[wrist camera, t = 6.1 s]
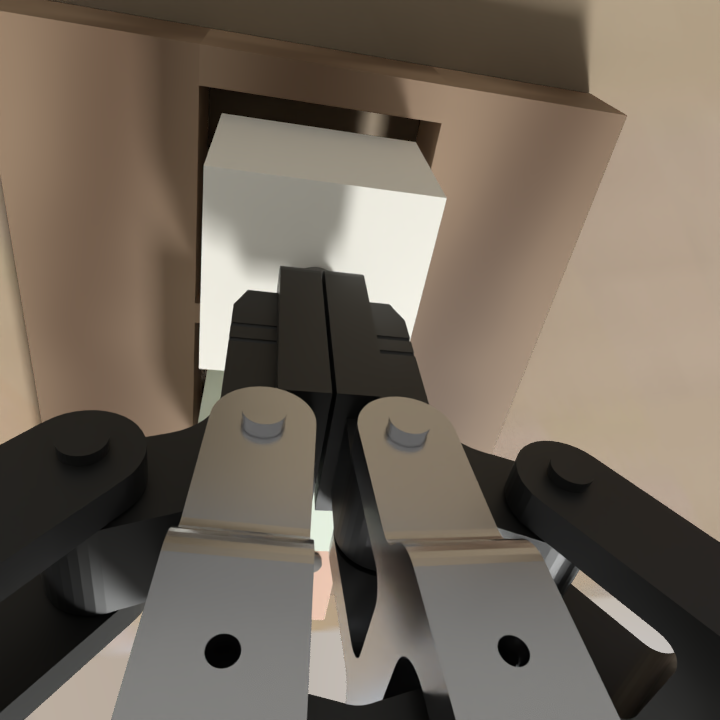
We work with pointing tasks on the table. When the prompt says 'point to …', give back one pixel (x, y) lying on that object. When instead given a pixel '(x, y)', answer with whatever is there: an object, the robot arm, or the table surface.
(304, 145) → the white block with hole
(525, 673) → the robot arm
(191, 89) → the socket board
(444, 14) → the table surface
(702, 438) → the table surface
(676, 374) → the table surface
